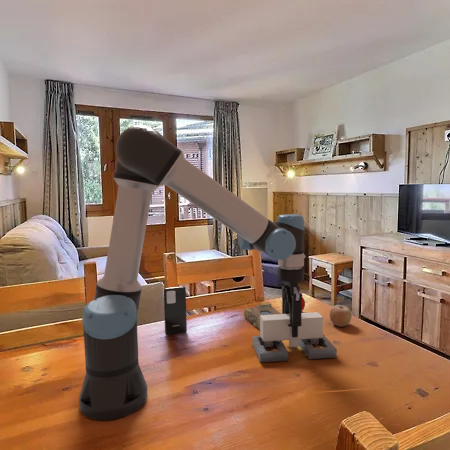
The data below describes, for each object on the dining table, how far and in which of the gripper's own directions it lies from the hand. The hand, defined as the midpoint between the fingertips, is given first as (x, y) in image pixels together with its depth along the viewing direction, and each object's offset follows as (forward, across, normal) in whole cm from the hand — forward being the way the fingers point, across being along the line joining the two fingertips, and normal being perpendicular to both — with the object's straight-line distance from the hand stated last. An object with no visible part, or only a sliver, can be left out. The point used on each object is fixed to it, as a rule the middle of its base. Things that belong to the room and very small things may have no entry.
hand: (291, 342), depth 107 cm
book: (+2, +21, +4) cm, 21 cm away
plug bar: (0, 0, 0) cm, 0 cm away
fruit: (+2, +15, -22) cm, 27 cm away
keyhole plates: (+2, 0, 0) cm, 2 cm away
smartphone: (+2, +15, +35) cm, 38 cm away
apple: (+2, +29, -10) cm, 31 cm away
